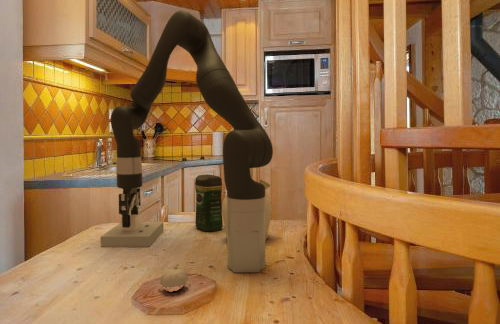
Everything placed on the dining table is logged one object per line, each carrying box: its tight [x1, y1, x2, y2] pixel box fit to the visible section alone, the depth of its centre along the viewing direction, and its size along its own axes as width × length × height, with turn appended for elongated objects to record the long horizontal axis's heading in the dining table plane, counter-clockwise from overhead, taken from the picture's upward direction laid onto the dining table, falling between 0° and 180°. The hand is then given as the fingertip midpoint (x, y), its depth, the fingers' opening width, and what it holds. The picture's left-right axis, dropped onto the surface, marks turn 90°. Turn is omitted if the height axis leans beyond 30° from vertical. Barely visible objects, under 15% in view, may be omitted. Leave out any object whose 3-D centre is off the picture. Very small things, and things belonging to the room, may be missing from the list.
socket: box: [100, 221, 164, 248], centre depth 121 cm, size 18×14×4 cm
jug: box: [222, 168, 273, 241], centre depth 119 cm, size 15×16×25 cm
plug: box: [120, 214, 141, 231], centre depth 121 cm, size 4×4×6 cm
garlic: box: [159, 263, 189, 288], centre depth 81 cm, size 6×5×5 cm
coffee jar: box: [194, 173, 224, 232], centre depth 132 cm, size 10×8×19 cm
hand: (130, 224), depth 121 cm, fingers open, 8 cm apart
